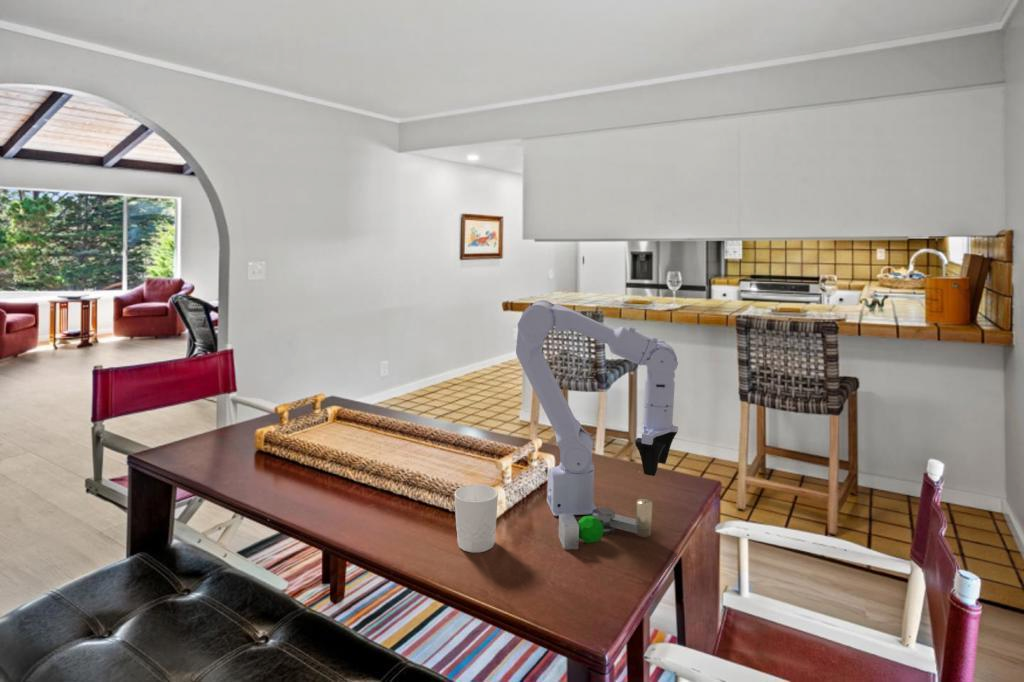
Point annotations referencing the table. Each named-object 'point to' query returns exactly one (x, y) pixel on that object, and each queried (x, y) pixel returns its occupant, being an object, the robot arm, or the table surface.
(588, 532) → the polyhedron
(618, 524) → the lever
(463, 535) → the white cup
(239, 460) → the table surface
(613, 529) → the pivot base
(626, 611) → the table surface
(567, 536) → the light grey block
